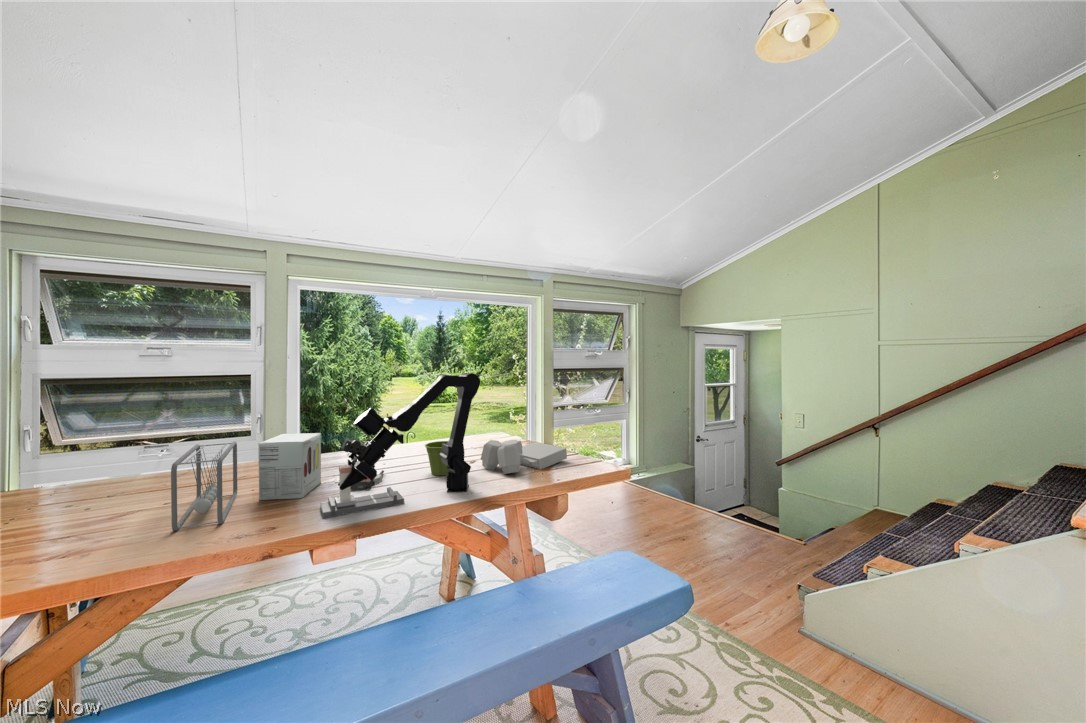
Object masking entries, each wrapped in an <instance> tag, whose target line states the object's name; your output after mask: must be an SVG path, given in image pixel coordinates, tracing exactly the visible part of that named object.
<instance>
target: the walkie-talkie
mask: <svg viewBox="0 0 1086 723" xmlns="http://www.w3.org/2000/svg"><path fill="white" fill-rule="evenodd" d="M384 473H385V470H383V469H382V470H381V471H380V472H379V474H377V476H376V477H375V478H374V479H373V480H370V479H369V478H368V479H365V480H363V481H360V482H358V483H356V484H354V485H352V486H351V491H365V490H366V491H367V490H371V488H372V486H374V485H377V484H380V483H381V481H382V480H383V475H384Z"/></svg>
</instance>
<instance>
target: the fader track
mask: <svg viewBox="0 0 1086 723" xmlns="http://www.w3.org/2000/svg"><path fill="white" fill-rule="evenodd" d="M354 498H355V500H356V504H355V505H349V506H343V507H337V506H336V504H335V499H334V498H333V496H328V497H327V500H328V501H327V502H320V505H319V506H320V512H321V515H322V518H323V519H324V518H325V519H326V518H331V517H337V516H342V515H349V514H353V513H360V512H364V511H365V512H366V511H370V510H371V511H372V510H376V509H381V508H386V507H387V508H388V507H392V506H398V505H399V506H400V505H403V504H405V498H404V497H403V495H402V494H401V493H400V492H399V491H398V490H393V488H392V487H390V486H389V487H386V492H381V493H375V494H374V493H373V494H370V495H369V494H368V495H362V496H358V497H357V496H356V497H354Z"/></svg>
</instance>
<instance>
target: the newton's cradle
mask: <svg viewBox="0 0 1086 723" xmlns="http://www.w3.org/2000/svg"><path fill="white" fill-rule="evenodd" d="M222 445H223V446H222ZM227 445H229V446H228V447H227V448H226V446H227ZM211 446H213V447H214V446H218V447H214V449H215V448H216V451H217V452H216V454H214V451H211V452H208V453H210V454H211V453H212V454H213V456H211V457H208V459H210V458H212V459H210V460H207V457H206V456H208V454H206V453H205V452H207V451H210V449H209V450H208V449H207V448H206V447H211ZM219 446H221V448H219ZM217 448H218V449H217ZM224 448H226V449H225V450H224ZM204 449H207V450H204ZM218 450H219V451H218ZM223 450H224V451H223ZM231 451H232V494H228V495H227V494H226V495H223V462H224V460H225V458H226V457H227V456H228V455H229V454H230V452H231ZM194 452H195V453H194ZM193 453H194V454H193ZM192 454H193V455H192ZM202 454H203V455H202ZM190 455H191V456H190ZM189 456H190V457H189ZM188 457H189V458H188ZM187 458H188V459H187ZM186 459H187V460H186ZM203 459H204V460H203ZM185 460H186V461H185ZM193 460H194V461H193ZM210 462H211V465H210V470H209V466H208V463H210ZM204 463H206V467H205V464H204ZM188 464H189V465H190V464H191V466H192V471H193V474H194V477H195V478H194V479H195V483H196V495H195V496H196V497H195V499H194V501H193V502H192V503H191V505H190V506H189V507H188V509H187V510H186V511H185V513H184V514H183V515H182V516H181V518H180V519H179V520H178V473H177V471H178V467H179V466H181V465H188ZM194 464H195V466H196V467H195V468H196V471H195V468H194ZM202 465H203V469H204V472H205V476H204V473H203V469H202ZM206 468H207V470H206ZM207 472H208V474H209V475H207ZM202 477H203V478H202ZM205 477H206V481H207V483H206V481H205ZM202 480H203V483H204V486H205V490H204V487H203V484H202ZM170 495H171V496H170V498H171V499H170V502H171V503H170V504H171V506H170V507H171V511H170V512H171V530H172V531H173V532H178V529H179V530H181V529H186V528H187V527H188V528H192V527H193V528H194V527H200V526H206V525H212V524H219V525H222V524H224V522H225V520H226V518H227V516H228V514H229V512H230V510H231V507H232V505H233V504H234V501H235V500H236V497H237V495H238V443H237V442H236V441H232V442H225V443H212V444H202V445H200V444H195V445H193V446H192V447H191V448H190V449H189V450H188V451H186V452H185V453H184V454H183V455H181V456H180V457H179V458H178V459H176V460H175V461H174V462H173V463H172V464H171V468H170ZM226 497H230V499H229V501H228V502H227V504H226V507H225V508H223V498H226ZM215 501H216V507H217V509H216V510H217V511H216V512H217V513H216V515H217V516H216V518H217V521H213V522H204V523H200V524H199V523H198V524H192V525H191V524H190V525H185V526H183V524H184V523H185V521H186V520H187V519H188V517H189V516H190V515H191V513H192V512H193V510H194V511H195V512H196V513H198V514H204V513H207V512H208V511H209V510H210V509H211V508H212V505H214V502H215ZM223 509H224V510H223ZM186 518H187V519H186ZM181 525H182V526H181Z"/></svg>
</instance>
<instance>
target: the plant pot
mask: <svg viewBox="0 0 1086 723" xmlns="http://www.w3.org/2000/svg"><path fill="white" fill-rule="evenodd" d="M448 441H449V440H442V441H441V440H440V441H439V440H438V441H433V442H432V441H431V442H427V443H426V444H424V447H425V448H426V453H427V456H428V461H429V467H430V472H431V474H432V475H433V476H440V475H441V476H447V475H448V472H449V469H447V466H446V465H445V464H443V462H442V461H441V456H440V453H441V451H442V444H443V443H444V444H447V442H448Z"/></svg>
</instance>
